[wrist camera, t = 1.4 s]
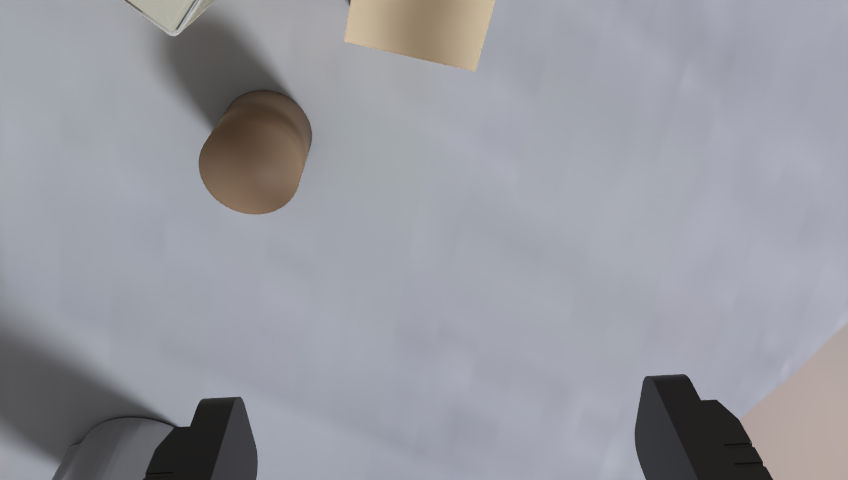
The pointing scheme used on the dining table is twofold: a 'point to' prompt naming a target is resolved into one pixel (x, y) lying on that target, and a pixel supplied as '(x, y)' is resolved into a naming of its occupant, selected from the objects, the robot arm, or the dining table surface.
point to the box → (170, 12)
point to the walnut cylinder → (256, 153)
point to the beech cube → (422, 28)
